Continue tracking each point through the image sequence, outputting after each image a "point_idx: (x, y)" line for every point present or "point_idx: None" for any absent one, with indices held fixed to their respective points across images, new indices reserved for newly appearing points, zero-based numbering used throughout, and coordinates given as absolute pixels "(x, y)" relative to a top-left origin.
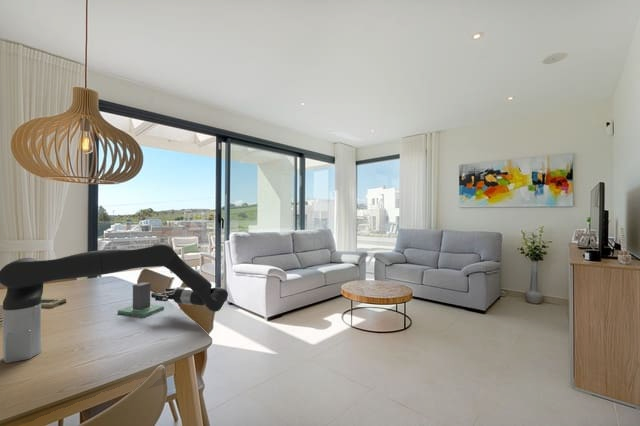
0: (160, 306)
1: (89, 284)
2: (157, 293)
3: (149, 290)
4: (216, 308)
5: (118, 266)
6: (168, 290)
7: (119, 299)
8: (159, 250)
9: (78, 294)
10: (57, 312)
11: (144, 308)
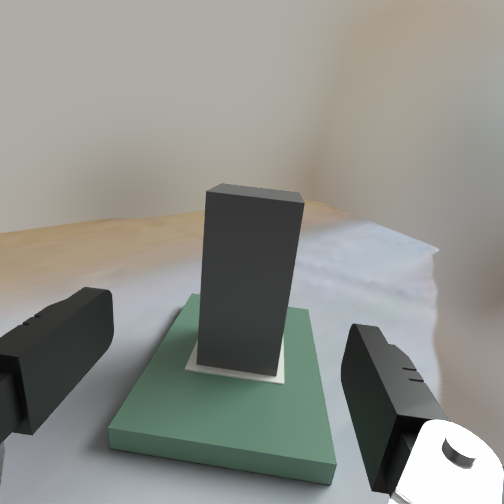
0: (316, 437)
1: (358, 218)
2: (11, 343)
3: (286, 262)
4: None
5: None
6: (361, 380)
7: (324, 263)
8: None
9: (305, 222)
10: (191, 231)
11: (229, 366)
